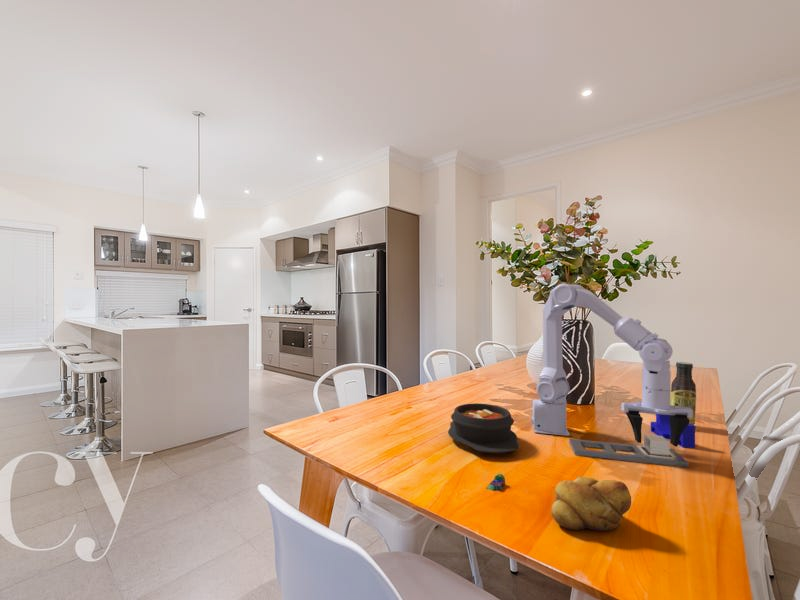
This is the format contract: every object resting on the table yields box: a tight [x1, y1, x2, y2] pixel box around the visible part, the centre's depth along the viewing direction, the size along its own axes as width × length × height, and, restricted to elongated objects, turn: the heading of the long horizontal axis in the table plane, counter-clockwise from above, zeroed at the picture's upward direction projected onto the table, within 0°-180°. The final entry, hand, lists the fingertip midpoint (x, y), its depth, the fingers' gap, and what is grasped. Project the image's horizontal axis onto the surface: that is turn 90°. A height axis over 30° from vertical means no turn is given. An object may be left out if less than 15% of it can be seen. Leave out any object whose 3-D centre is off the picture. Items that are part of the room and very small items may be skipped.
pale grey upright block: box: [643, 433, 670, 457], centre depth 88 cm, size 4×4×5 cm
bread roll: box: [550, 475, 632, 532], centre depth 63 cm, size 13×10×8 cm
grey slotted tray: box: [568, 438, 689, 469], centre depth 90 cm, size 24×8×2 cm, turn 74°
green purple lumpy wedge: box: [485, 473, 506, 492], centre depth 74 cm, size 4×3×2 cm, turn 142°
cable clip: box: [650, 414, 696, 449], centre depth 100 cm, size 12×4×6 cm, turn 173°
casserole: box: [447, 403, 520, 454], centre depth 99 cm, size 25×19×8 cm
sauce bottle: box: [670, 361, 697, 426], centre depth 110 cm, size 6×6×20 cm
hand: (655, 443), depth 88 cm, fingers open, 7 cm apart
